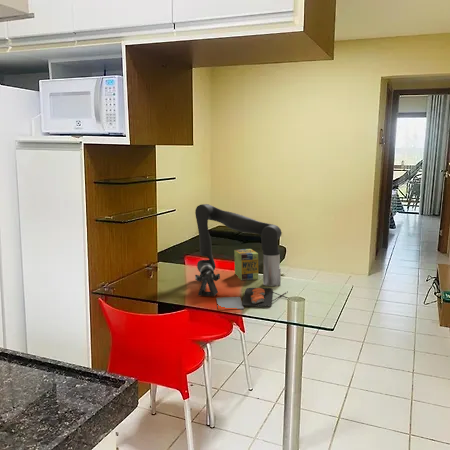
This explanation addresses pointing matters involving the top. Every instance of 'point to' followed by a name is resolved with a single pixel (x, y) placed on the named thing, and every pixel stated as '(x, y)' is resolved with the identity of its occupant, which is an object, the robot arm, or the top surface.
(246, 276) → the protein box
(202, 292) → the phone stand
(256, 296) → the sushi plate
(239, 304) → the mat
